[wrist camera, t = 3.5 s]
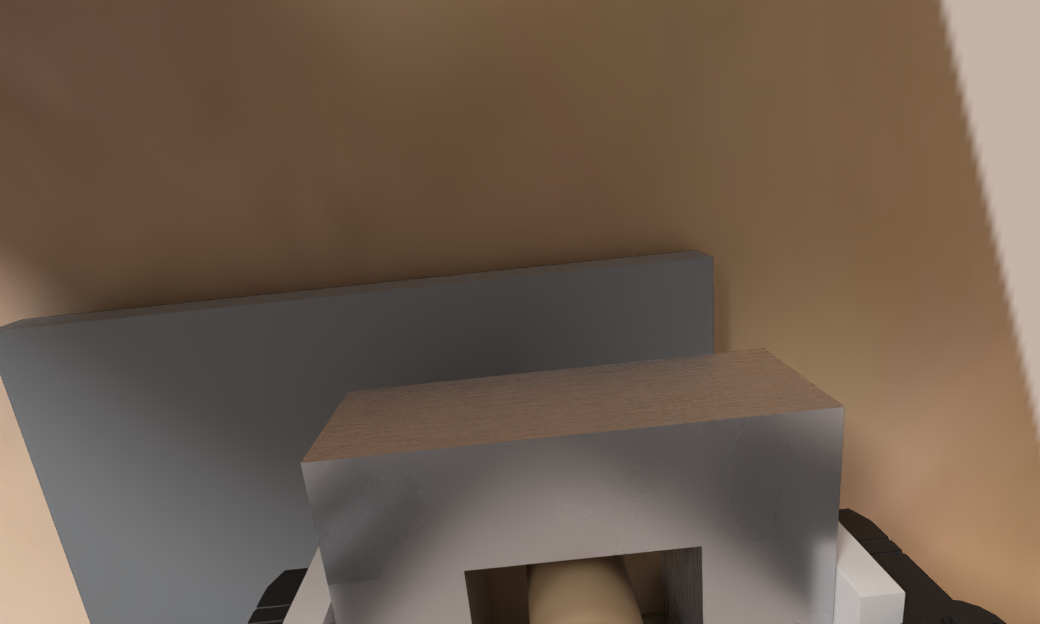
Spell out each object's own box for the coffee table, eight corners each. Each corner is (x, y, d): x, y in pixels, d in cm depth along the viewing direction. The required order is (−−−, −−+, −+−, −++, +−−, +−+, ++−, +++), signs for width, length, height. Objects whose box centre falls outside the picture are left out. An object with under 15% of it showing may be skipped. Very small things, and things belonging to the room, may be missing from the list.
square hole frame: (348, 391, 12) (300, 463, 9) (763, 348, 12) (844, 406, 9) (410, 715, 15) (387, 853, 12) (759, 678, 15) (822, 806, 12)
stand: (441, 393, 15) (394, 573, 9) (659, 370, 15) (781, 532, 9) (468, 577, 17) (445, 850, 10) (666, 556, 17) (773, 816, 10)
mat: (22, 319, 16) (-15, 332, 15) (697, 250, 16) (712, 257, 15) (198, 834, 21) (180, 873, 20) (706, 780, 21) (718, 816, 20)
